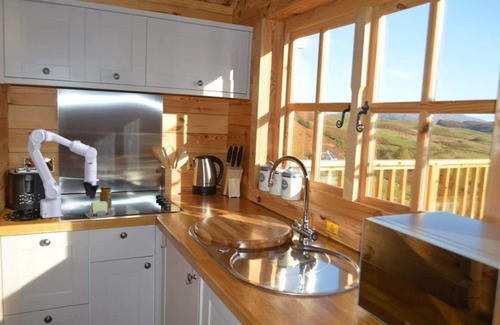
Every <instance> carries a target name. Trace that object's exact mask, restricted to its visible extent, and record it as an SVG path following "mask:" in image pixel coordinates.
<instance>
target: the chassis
mask: <svg viewBox="0 0 500 325" xmlns="http://www.w3.org/2000/svg"><path fill="white" fill-rule="evenodd" d="M84 216H85V217H87V218H88V219H89V220H92V219H103V218H113V217H115V215H114V214H113V213H112V212H111V210H110V207H107V212H106V211H98V212H97V213H94V214H93V213H92V209H91V208H88V213H84Z"/></svg>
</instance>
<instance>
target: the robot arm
mask: <svg viewBox="0 0 500 325" xmlns="http://www.w3.org/2000/svg"><path fill="white" fill-rule="evenodd" d="M45 142H55V143H58V144H60V145H63V146H65V147H68V148H69V151H71V152H73V153H75V154H77V155H79V156H81V157H82V156H83V157H85V158H84V159H85V161H84V180H83V182H82V185H83V187H84V192H85V196H86V197H89V199H90V200H92V199H93V200H94V199H95V198H96V195H97V190H98V189H99V187H100V185H99V184H97V182H99V180H100V179H99V178H97V176H98V175H97V172H98V170H97V169H98V168H97V166H98V165H97V164H98V162H97V157H98V156H97V155H98V151H97V150H96V148H95V147H92V146H90V145H89V144H87V145H86V144H84V143H82V142H81V140H69V139H67V138H65V137H63V136H61V135H59V134H57V133H54V132H53V131H49V130H45V129H44V128H43V129H42V128H39V129H34V130H33V131H32V132H30V134H29V136H28V143H27V151H28V154H29V156H30V158H31V160H32V162H33V164H34V167H35V169H36V170H37V173H38V175H39V176H40V179H41V182H42V184H43V188H44V195H45V198H43V199H40V203H39V204H40V205H39V206H40V208H39V209H40V212H39V213H40V214H39V215H40V216H41V217H42V219H49V218H58V217H60V218H61V217H64V214H63V213H62V197H61V195H60V194H61V193H62V187H61V186H60V185H59V184H58V183H57V181H56V179H54V177H53V175H52V173H51V171H50V169H49V167H48V165H47V162H46V161H45V159H44V157H43V155H42V152H41V148H42V145H43V143H45Z"/></svg>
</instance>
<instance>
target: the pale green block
mask: <svg viewBox="0 0 500 325" xmlns="http://www.w3.org/2000/svg"><path fill="white" fill-rule="evenodd" d="M90 209H92V213H93V214H94V213H97V212H98V211H106V212H107V202H105V201H101V202H100V201H92V202H90Z"/></svg>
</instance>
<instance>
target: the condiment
mask: <svg viewBox="0 0 500 325" xmlns="http://www.w3.org/2000/svg"><path fill="white" fill-rule="evenodd" d="M112 199H113V198H112V187H111V186H101V187H100V193H99V202H101V201H105V202H107V207H110V211H111V210H112V211H113V210H115V208H114V207H112V204H113V203H112V201H113V200H112Z"/></svg>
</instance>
